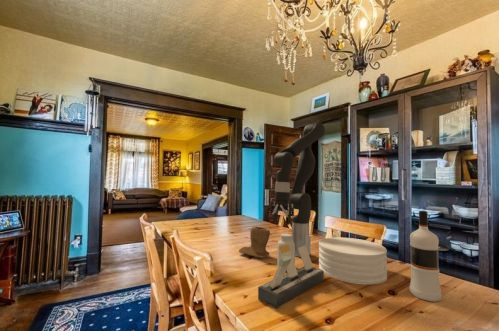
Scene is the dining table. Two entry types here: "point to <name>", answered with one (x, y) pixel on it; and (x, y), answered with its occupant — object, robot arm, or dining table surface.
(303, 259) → the lever slate
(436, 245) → the vodka
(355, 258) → the plate stack
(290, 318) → the dining table surface
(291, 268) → the lever amber
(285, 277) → the switch strip
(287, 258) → the lever sage
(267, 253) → the brown boot
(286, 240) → the pill bottle
